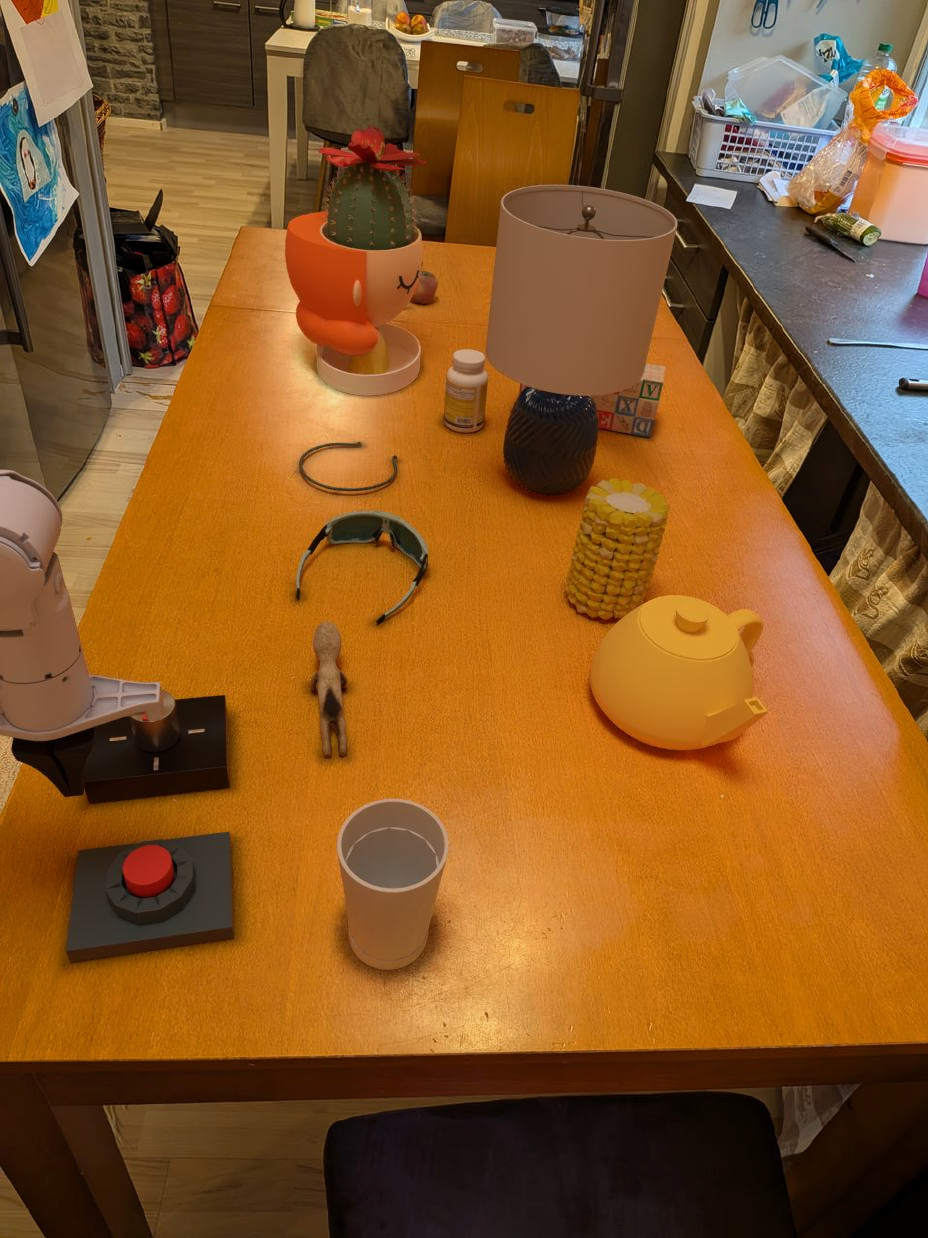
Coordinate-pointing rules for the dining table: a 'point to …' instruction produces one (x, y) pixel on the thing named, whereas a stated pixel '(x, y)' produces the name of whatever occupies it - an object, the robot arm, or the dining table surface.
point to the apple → (426, 288)
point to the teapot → (679, 673)
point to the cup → (391, 879)
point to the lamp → (571, 318)
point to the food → (616, 548)
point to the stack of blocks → (631, 404)
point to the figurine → (329, 686)
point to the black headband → (344, 488)
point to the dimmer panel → (161, 756)
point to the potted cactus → (359, 270)
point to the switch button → (148, 871)
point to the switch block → (151, 900)
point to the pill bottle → (466, 392)
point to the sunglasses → (370, 529)
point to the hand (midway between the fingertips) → (74, 786)
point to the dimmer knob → (157, 728)
